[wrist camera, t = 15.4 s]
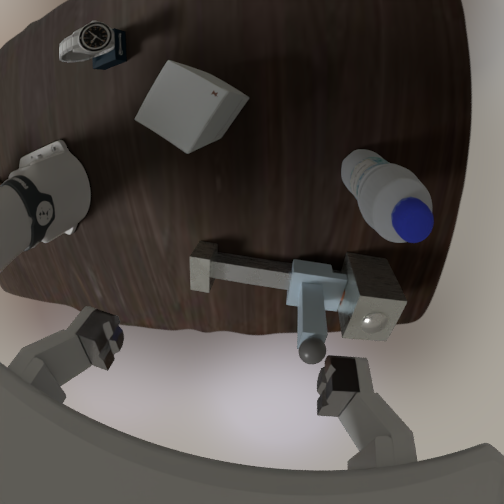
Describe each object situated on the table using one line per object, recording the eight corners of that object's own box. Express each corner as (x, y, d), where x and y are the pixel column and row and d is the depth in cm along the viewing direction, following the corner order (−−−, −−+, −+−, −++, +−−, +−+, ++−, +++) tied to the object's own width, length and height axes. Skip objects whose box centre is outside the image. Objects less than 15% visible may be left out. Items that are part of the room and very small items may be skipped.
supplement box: (206, 70, 31) (168, 56, 20) (251, 98, 32) (231, 91, 21) (178, 113, 34) (131, 119, 23) (220, 140, 36) (188, 156, 25)
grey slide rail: (199, 272, 47) (176, 316, 37) (200, 229, 43) (173, 268, 33) (370, 297, 45) (385, 345, 35) (386, 258, 41) (408, 303, 31)
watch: (137, 57, 30) (92, 49, 21) (96, 73, 31) (49, 73, 22) (136, 27, 27) (92, 12, 18) (95, 44, 29) (49, 38, 19)
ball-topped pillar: (287, 289, 45) (281, 373, 30) (293, 257, 42) (291, 340, 27) (333, 295, 45) (345, 379, 30) (343, 265, 42) (363, 347, 27)
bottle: (349, 137, 33) (406, 167, 16) (390, 159, 33) (467, 210, 16) (329, 179, 36) (362, 248, 19) (369, 199, 37) (424, 278, 19)
